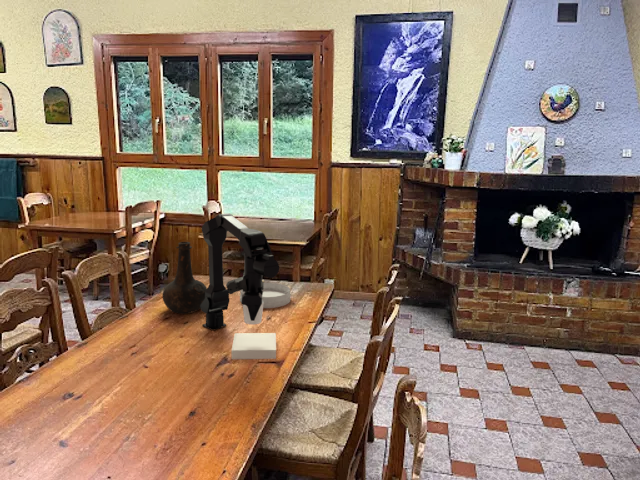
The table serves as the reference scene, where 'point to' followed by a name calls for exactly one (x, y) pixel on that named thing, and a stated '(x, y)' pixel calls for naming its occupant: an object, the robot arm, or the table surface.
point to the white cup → (258, 316)
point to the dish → (273, 295)
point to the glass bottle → (184, 285)
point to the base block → (254, 346)
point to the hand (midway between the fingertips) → (253, 316)
